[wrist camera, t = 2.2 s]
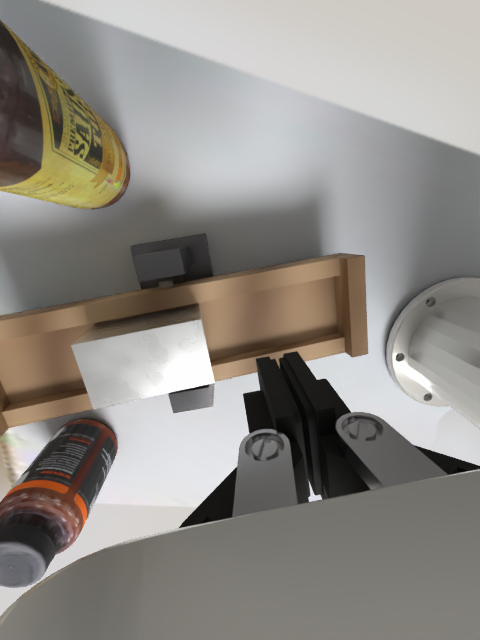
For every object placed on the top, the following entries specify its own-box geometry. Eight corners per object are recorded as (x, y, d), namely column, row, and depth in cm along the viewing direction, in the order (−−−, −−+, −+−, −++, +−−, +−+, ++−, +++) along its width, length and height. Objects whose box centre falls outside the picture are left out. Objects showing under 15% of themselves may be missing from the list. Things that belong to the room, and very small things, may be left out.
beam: (325, 246, 24) (364, 249, 19) (332, 334, 27) (368, 358, 21) (-12, 307, 22) (-78, 330, 16) (28, 400, 24) (-19, 447, 18)
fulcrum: (331, 212, 24) (364, 206, 19) (341, 356, 28) (370, 386, 23) (10, 266, 24) (-54, 276, 18) (63, 404, 28) (23, 447, 22)
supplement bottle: (46, 424, 28) (-62, 543, 17) (106, 409, 28) (35, 519, 17) (71, 473, 30) (-13, 609, 19) (128, 459, 30) (75, 587, 19)
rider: (198, 303, 20) (201, 319, 17) (209, 357, 21) (214, 382, 18) (94, 324, 20) (70, 345, 16) (111, 378, 21) (93, 409, 17)
